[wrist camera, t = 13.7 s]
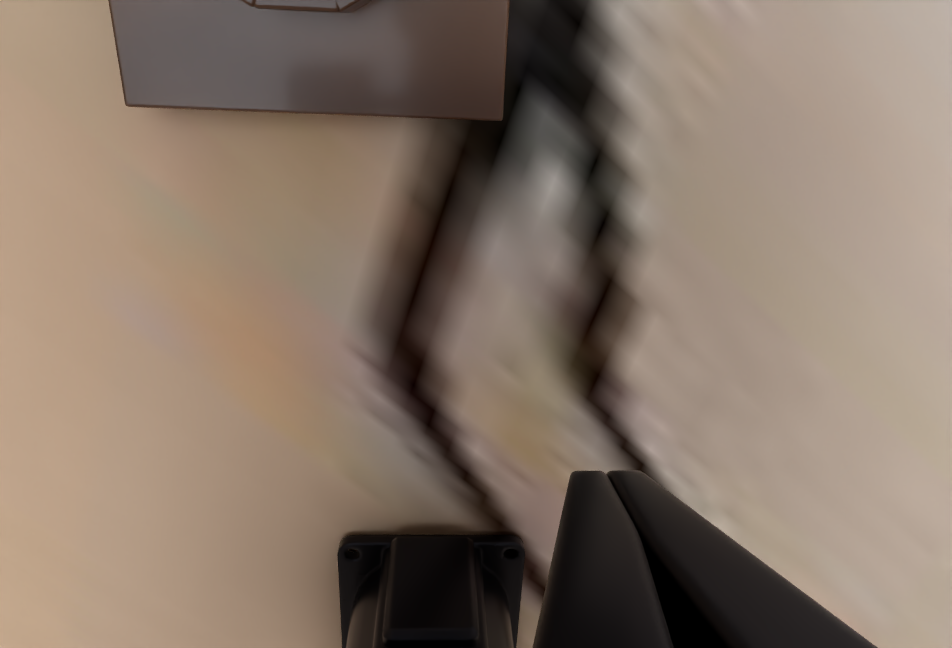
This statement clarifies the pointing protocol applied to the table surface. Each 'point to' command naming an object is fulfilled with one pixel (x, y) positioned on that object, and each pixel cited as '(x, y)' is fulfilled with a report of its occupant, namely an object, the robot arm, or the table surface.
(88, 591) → the table surface
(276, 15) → the block
